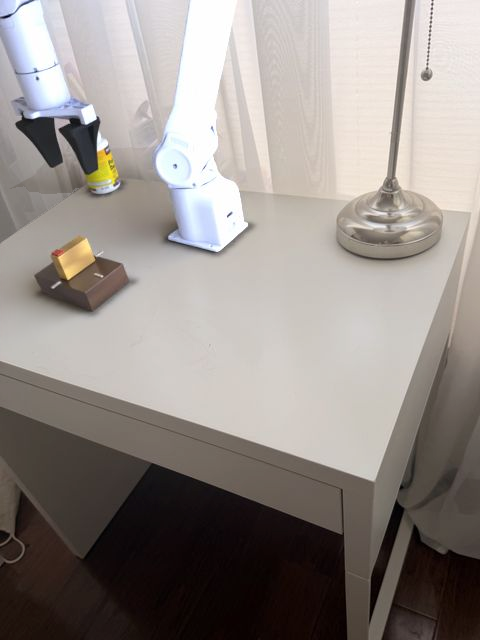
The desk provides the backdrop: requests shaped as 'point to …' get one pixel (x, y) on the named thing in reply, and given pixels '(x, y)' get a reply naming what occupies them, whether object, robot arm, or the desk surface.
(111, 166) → the supplement bottle
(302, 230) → the desk surface
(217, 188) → the robot arm
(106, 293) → the plate
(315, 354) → the desk surface
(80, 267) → the thumbturn
